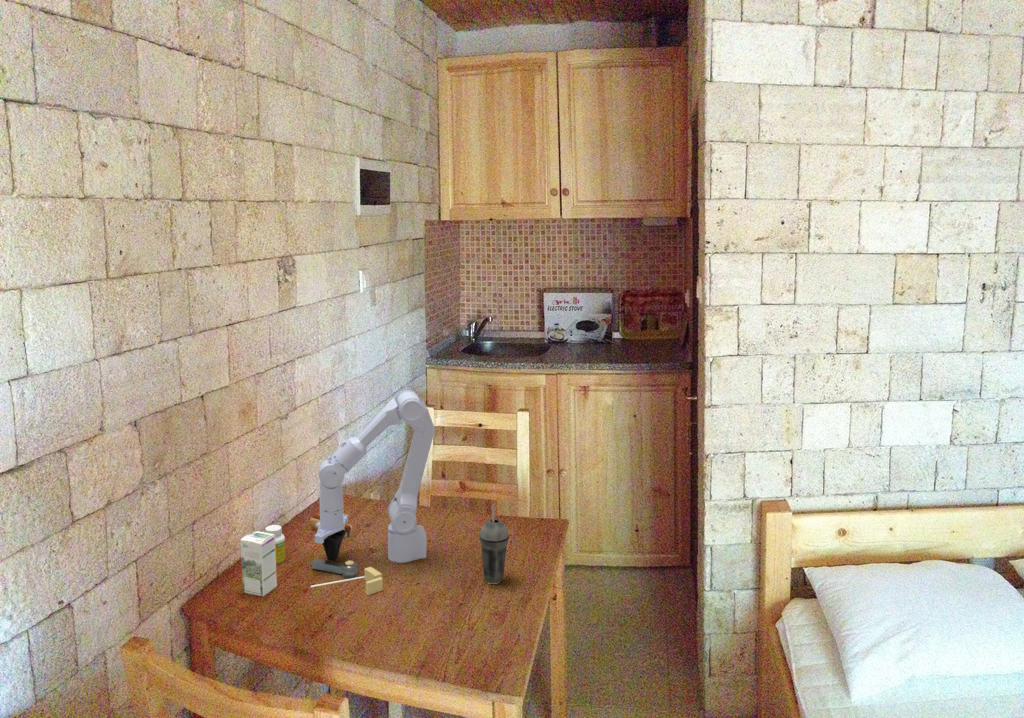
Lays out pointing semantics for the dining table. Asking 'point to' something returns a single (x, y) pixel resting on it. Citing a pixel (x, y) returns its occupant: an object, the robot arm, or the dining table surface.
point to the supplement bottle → (278, 541)
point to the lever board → (370, 575)
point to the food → (316, 519)
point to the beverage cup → (493, 549)
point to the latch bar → (335, 568)
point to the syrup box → (258, 563)
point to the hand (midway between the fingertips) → (332, 559)
